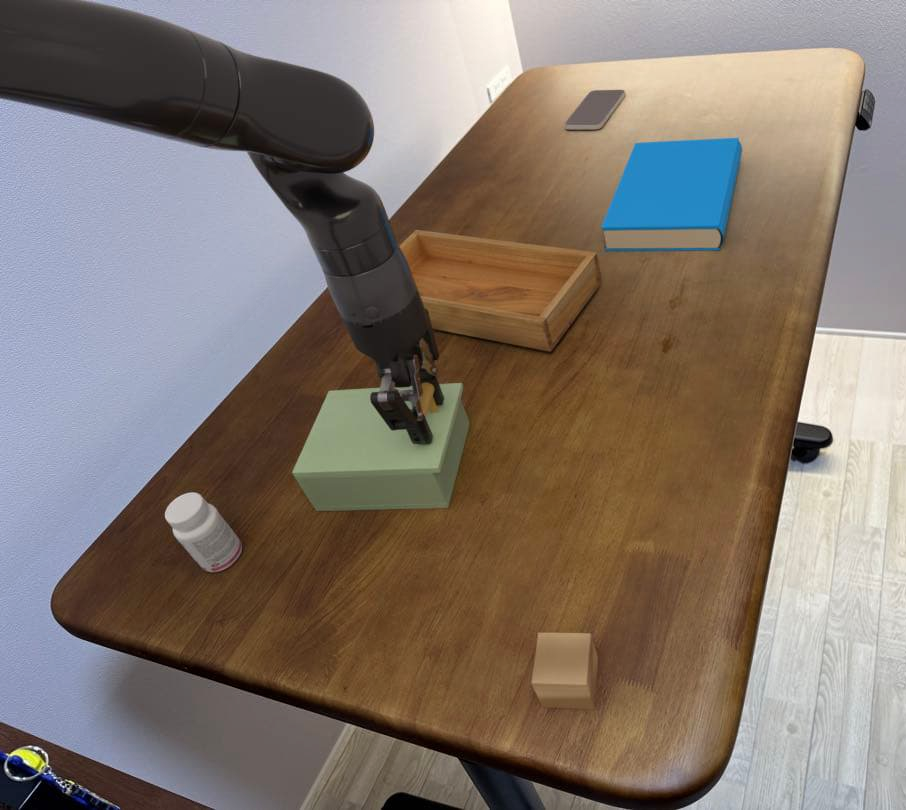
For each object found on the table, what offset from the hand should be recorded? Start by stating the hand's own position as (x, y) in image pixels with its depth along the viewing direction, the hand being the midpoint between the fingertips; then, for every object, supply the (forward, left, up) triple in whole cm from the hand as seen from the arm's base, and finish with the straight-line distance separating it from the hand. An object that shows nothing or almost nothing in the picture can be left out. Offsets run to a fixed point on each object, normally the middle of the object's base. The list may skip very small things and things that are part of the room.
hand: (429, 421), depth 83 cm
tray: (+30, +1, -7) cm, 31 cm away
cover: (0, +6, -1) cm, 6 cm away
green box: (0, +6, -7) cm, 9 cm away
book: (+51, -26, -7) cm, 58 cm away
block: (-25, -17, -7) cm, 31 cm away
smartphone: (+87, -11, -7) cm, 88 cm away
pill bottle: (-12, +23, -7) cm, 27 cm away
